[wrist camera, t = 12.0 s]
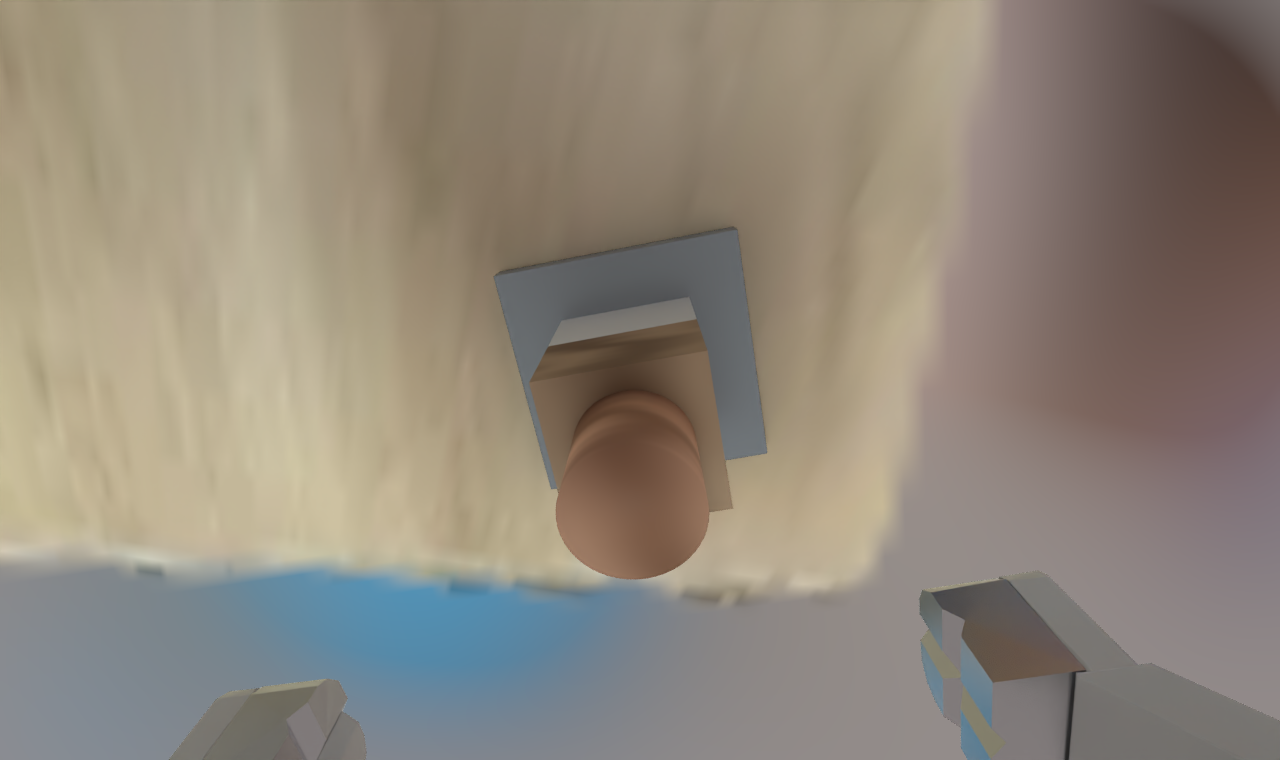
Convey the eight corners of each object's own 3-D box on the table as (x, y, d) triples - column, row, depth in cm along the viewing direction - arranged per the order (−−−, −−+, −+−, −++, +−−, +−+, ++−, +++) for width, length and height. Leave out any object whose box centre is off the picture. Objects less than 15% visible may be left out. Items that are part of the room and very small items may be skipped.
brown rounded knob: (587, 510, 26) (574, 589, 21) (560, 402, 24) (539, 460, 19) (705, 491, 25) (719, 567, 21) (685, 380, 24) (696, 433, 19)
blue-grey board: (554, 477, 38) (551, 489, 37) (499, 271, 34) (493, 276, 32) (762, 442, 37) (767, 453, 36) (733, 226, 33) (737, 229, 31)
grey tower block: (589, 436, 35) (580, 477, 31) (561, 320, 33) (548, 346, 28) (708, 415, 35) (718, 454, 30) (689, 296, 33) (696, 319, 28)
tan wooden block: (580, 477, 31) (569, 534, 26) (548, 346, 28) (529, 382, 24) (718, 454, 30) (732, 508, 25) (696, 319, 28) (707, 350, 23)
